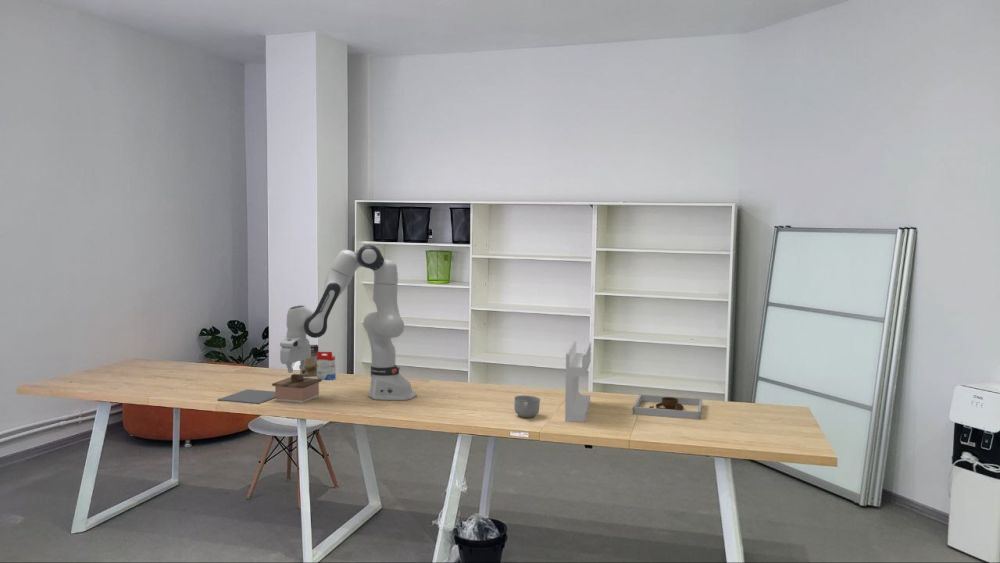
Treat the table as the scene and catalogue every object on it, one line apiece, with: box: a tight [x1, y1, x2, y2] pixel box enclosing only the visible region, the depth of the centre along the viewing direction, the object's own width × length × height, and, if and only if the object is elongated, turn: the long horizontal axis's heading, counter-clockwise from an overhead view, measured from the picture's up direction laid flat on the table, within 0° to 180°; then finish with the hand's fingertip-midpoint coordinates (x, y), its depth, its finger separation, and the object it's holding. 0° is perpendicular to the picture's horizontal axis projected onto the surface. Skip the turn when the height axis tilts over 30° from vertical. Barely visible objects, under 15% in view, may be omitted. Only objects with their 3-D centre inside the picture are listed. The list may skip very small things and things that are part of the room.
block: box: [564, 340, 592, 423], centre depth 321 cm, size 35×8×28 cm, turn 170°
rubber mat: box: [217, 388, 276, 405], centre depth 346 cm, size 22×22×1 cm
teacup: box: [513, 394, 541, 419], centre depth 312 cm, size 14×11×8 cm
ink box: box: [316, 351, 336, 381], centre depth 387 cm, size 8×5×15 cm, turn 84°
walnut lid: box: [271, 373, 323, 388], centre depth 343 cm, size 16×16×4 cm
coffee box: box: [299, 344, 319, 378], centre depth 395 cm, size 9×6×16 cm
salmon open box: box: [274, 382, 320, 404], centre depth 343 cm, size 14×14×7 cm
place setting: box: [649, 396, 684, 411], centre depth 326 cm, size 18×20×6 cm
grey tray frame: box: [632, 393, 703, 420], centre depth 327 cm, size 28×26×3 cm
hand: (296, 370), depth 342 cm, fingers open, 8 cm apart
